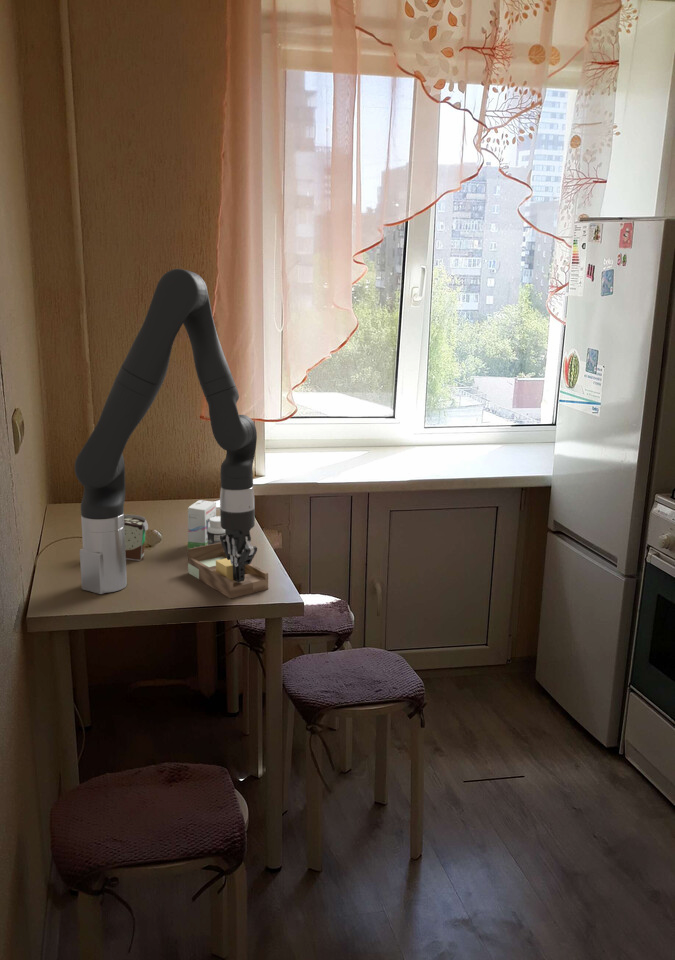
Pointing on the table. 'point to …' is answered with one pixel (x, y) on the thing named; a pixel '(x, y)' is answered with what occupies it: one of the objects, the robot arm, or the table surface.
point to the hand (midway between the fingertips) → (238, 580)
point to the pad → (209, 563)
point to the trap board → (230, 588)
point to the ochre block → (225, 568)
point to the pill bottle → (215, 530)
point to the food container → (135, 536)
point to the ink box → (199, 522)
